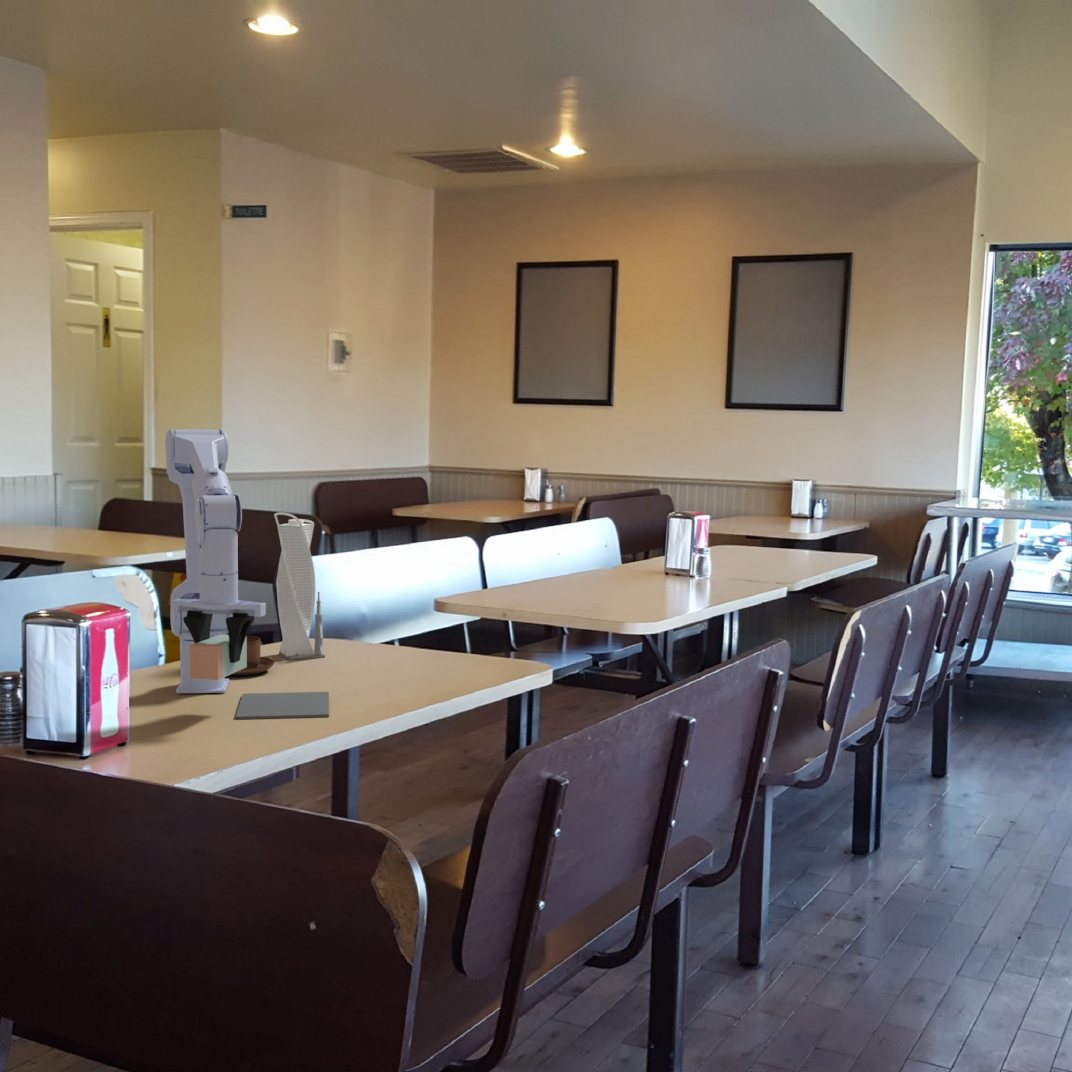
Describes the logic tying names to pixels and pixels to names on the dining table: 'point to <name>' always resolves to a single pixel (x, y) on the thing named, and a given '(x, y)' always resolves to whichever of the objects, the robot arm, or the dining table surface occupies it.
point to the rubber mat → (283, 705)
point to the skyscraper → (297, 591)
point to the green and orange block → (214, 658)
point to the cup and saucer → (254, 658)
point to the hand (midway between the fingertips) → (219, 660)
